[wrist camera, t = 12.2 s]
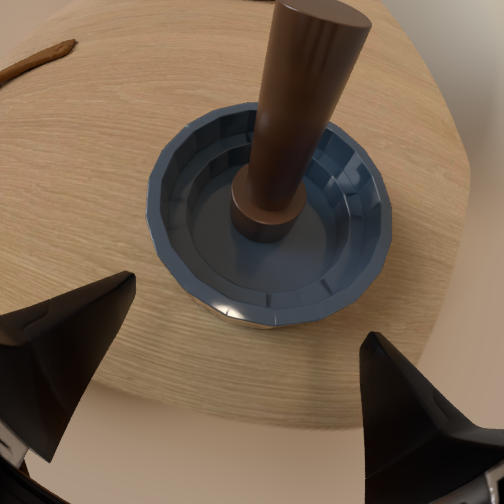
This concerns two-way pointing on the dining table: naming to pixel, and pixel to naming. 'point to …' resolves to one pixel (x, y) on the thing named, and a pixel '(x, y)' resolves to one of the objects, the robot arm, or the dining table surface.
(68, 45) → the primitive tool
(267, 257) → the bowl
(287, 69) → the pestle
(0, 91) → the dining table surface
